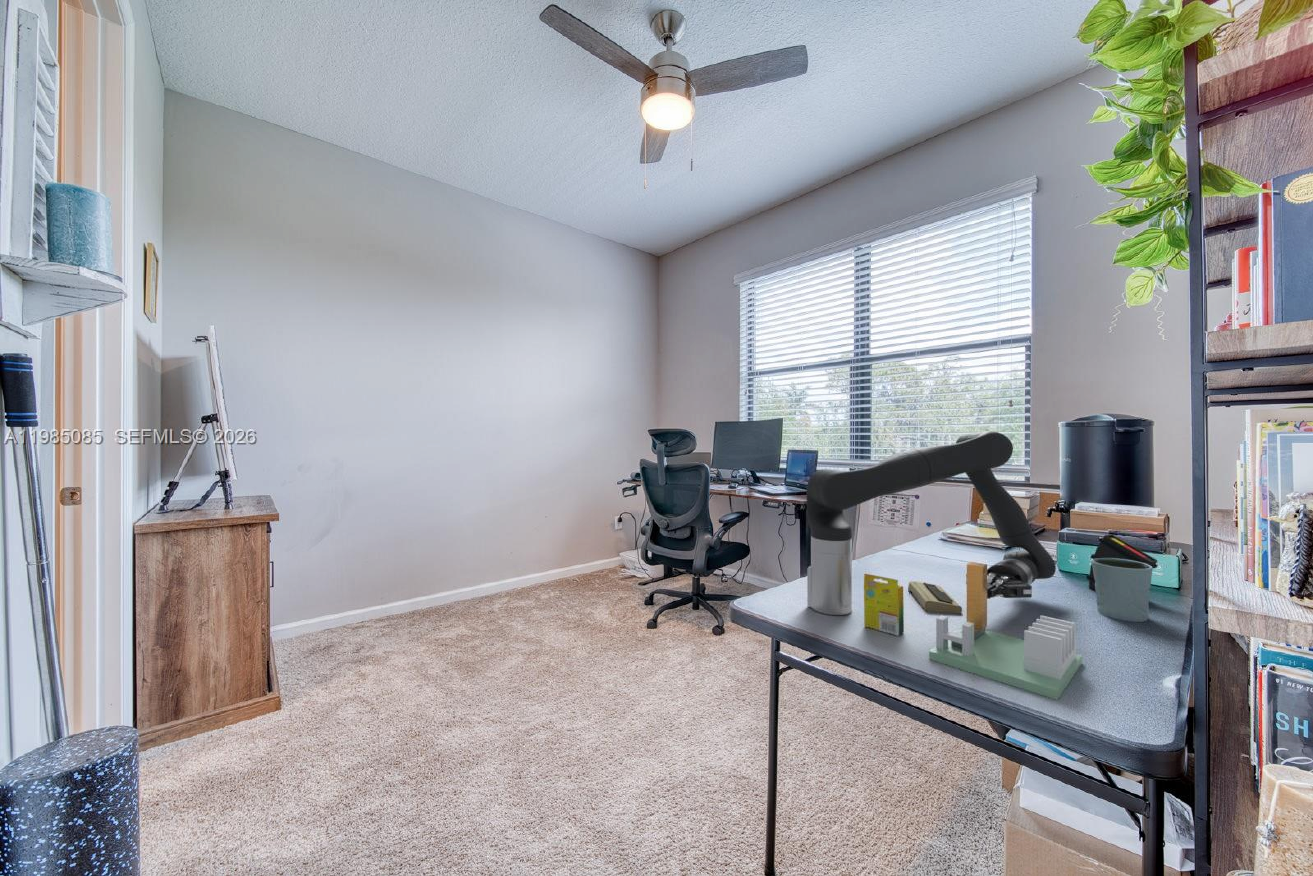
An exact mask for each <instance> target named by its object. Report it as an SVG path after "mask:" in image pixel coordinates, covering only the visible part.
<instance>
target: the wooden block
mask: <svg viewBox="0 0 1313 876" xmlns="http://www.w3.org/2000/svg"><path fill="white" fill-rule="evenodd" d="M987 569H988V564H986V563H979V562H975V561H970V562H968V563H966V574H967V585H966V622H970V623H974V641H975V640H977V639H978V638H979V637H980V636H982V635H983V634H984V633H985V630H986V628H987V626H988V599H987ZM960 633H961V634H962V631H961V632H960ZM951 646H954V647H958V648H961V649H962V644H960V643H957V642H953V641H951Z"/></svg>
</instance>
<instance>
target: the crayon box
mask: <svg viewBox="0 0 1313 876" xmlns="http://www.w3.org/2000/svg"><path fill="white" fill-rule="evenodd" d="M863 575H864V577H863V578H864V580H863V603H864V604H863V607H864V609H863V613H864V614H863V616H864V618H863V619H864V620H863V621H864V623H863V624H864V627H865V628H869V627H870V629H872V628H873V629H872V630H877V631H880V632H884V633H888V634H890V633H891V635H894V636H897V637H899V636H901V635H902V634H903V633H904V632H905V626H904V623H905V620H904V619H905V615H904V614H905V613H904V610H905V609H904V608H905V607H904V604H905V603H904V586H902V585H899V584H898V582H899V580H898V579H896V578H895V579H894V578H891V577H884V576H880V575H874V574H869V573H864V574H863ZM877 580H882V581H884V582H882V581H877Z"/></svg>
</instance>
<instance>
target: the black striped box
mask: <svg viewBox="0 0 1313 876" xmlns="http://www.w3.org/2000/svg"><path fill="white" fill-rule="evenodd" d="M1098 542H1099V544H1098V545H1097V547H1096V549H1095V552H1094V554H1091V555H1090V559H1091V560H1093V559H1095V558H1117V559H1126V560H1132V561H1138V562H1142V563H1146V564H1148V565H1150V566H1152V567H1153V568H1152V569H1156V568H1158V566H1159V565H1158V564H1157V563H1158V560H1157V559H1156V558H1154V557H1153V556H1151V555H1149V554H1147V553H1145V552H1144V551H1142V550H1140V549H1138V548H1136V547H1135V546H1133V545H1132V544H1130V543H1127V542H1126V541H1124V540H1122V539H1121V538H1119V537H1118V536H1116V535H1114V534H1104V536H1103V537H1101V538H1099V539H1098ZM1086 580H1088V588H1089V589H1090V590H1093V591H1096V589H1095V583H1096V582H1095V580H1094V573H1093V566H1092V563H1091V565H1090V570H1089V574H1086Z"/></svg>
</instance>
